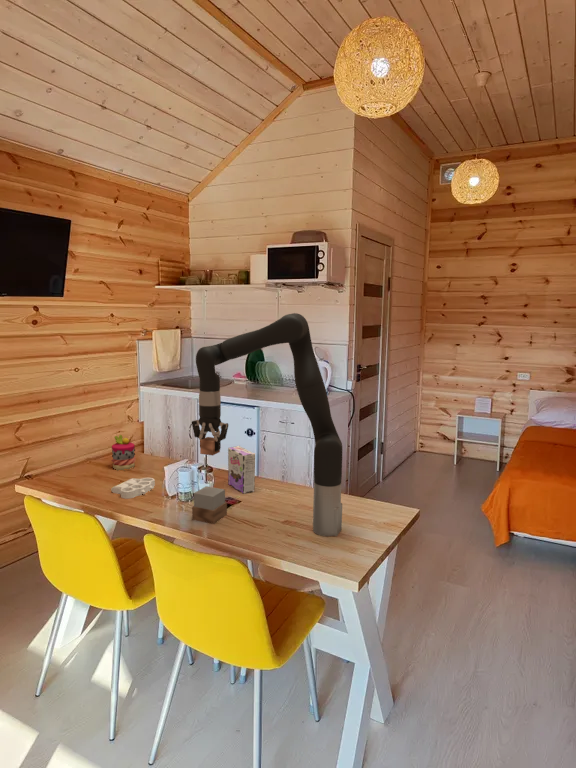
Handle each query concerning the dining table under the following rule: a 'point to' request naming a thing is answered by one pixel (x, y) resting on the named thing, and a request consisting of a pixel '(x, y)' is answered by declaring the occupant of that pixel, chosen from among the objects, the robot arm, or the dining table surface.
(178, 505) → the dining table surface
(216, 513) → the tower bottom
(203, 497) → the tower top
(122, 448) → the cake
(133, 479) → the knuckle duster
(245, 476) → the candy box
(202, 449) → the terracotta cube
